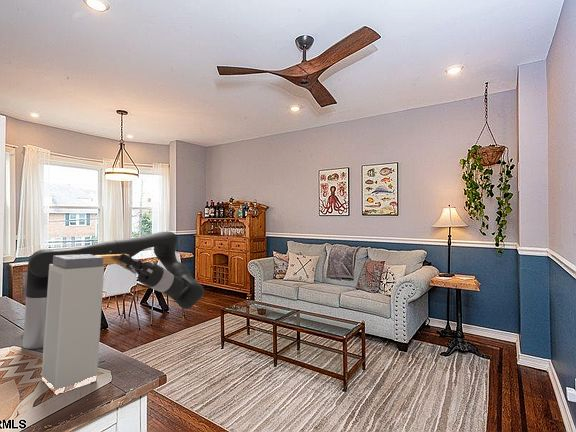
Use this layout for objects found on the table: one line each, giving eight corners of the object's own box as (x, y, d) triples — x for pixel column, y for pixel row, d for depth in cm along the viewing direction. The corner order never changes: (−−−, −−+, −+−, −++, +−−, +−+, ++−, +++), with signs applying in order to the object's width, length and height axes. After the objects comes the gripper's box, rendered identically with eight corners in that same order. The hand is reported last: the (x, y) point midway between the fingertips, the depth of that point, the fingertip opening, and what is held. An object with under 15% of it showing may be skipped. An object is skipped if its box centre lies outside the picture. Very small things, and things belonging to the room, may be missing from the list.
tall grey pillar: (41, 379, 87) (49, 264, 88) (79, 368, 94) (87, 262, 95) (55, 395, 79) (64, 269, 80) (96, 381, 87) (104, 266, 88)
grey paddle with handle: (52, 264, 87) (53, 255, 88) (119, 260, 102) (119, 252, 102) (65, 268, 81) (66, 259, 81) (134, 264, 96) (134, 255, 96)
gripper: (162, 291, 101) (117, 269, 90) (139, 284, 110) (96, 263, 98) (173, 270, 104) (132, 246, 93) (151, 265, 113) (110, 242, 102)
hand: (114, 255), depth 96 cm, fingers open, 7 cm apart
